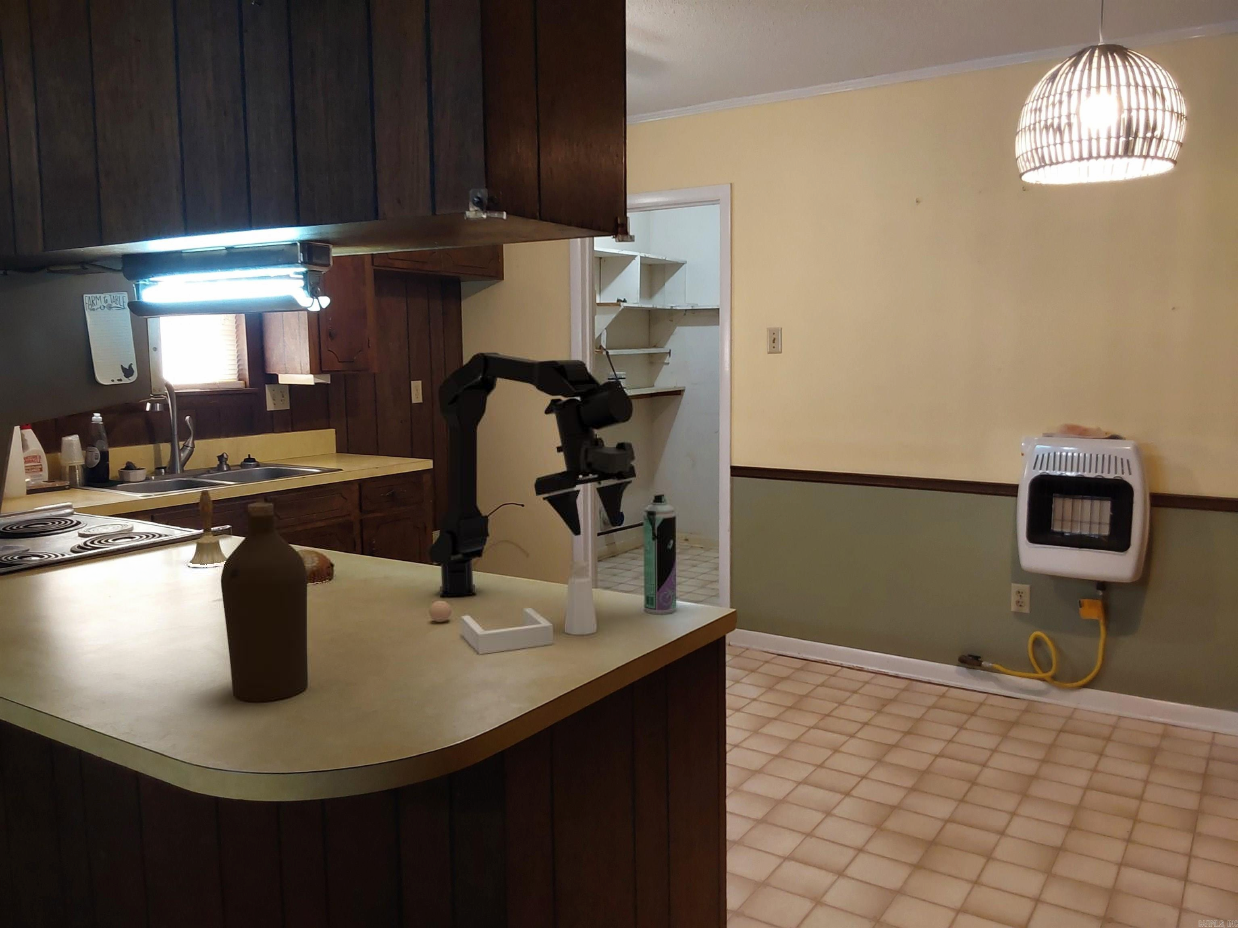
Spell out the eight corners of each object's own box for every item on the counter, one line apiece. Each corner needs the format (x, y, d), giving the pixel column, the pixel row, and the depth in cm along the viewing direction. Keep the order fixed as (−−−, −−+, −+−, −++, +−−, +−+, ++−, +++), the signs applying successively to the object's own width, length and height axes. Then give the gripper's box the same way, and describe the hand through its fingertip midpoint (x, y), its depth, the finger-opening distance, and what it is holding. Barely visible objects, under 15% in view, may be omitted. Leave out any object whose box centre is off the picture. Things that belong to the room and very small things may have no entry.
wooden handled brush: (238, 561, 207) (234, 488, 205) (207, 569, 200) (202, 494, 198) (210, 558, 211) (205, 486, 209) (179, 566, 203) (173, 492, 201)
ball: (430, 619, 160) (429, 598, 160) (451, 618, 161) (450, 597, 161) (429, 625, 157) (429, 604, 157) (451, 623, 158) (450, 603, 157)
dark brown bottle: (302, 702, 123) (291, 509, 120) (216, 706, 122) (204, 512, 119) (320, 674, 133) (311, 497, 130) (242, 677, 133) (231, 498, 130)
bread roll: (289, 594, 193) (269, 560, 191) (336, 568, 196) (316, 534, 194) (293, 605, 184) (272, 570, 182) (342, 578, 187) (322, 543, 185)
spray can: (673, 614, 161) (673, 497, 159) (641, 613, 162) (640, 496, 160) (678, 606, 167) (677, 492, 164) (647, 605, 168) (646, 491, 165)
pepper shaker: (559, 627, 155) (557, 560, 153) (591, 624, 156) (590, 557, 155) (569, 637, 150) (568, 567, 148) (602, 633, 151) (601, 564, 150)
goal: (461, 634, 151) (461, 616, 151) (530, 625, 156) (530, 607, 155) (479, 654, 142) (478, 634, 141) (552, 644, 146) (552, 624, 146)
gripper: (574, 429, 143) (595, 533, 142) (651, 421, 157) (670, 515, 156) (523, 444, 150) (543, 542, 149) (601, 435, 164) (620, 525, 163)
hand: (597, 530), depth 154 cm, fingers open, 9 cm apart
